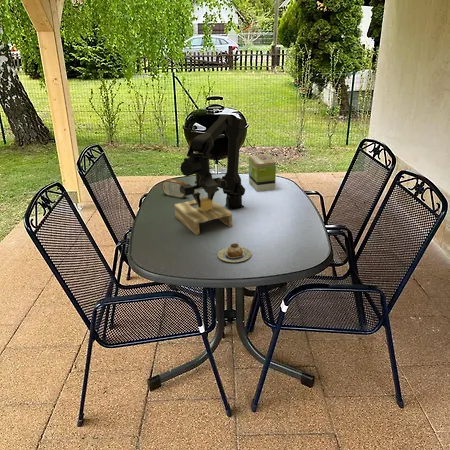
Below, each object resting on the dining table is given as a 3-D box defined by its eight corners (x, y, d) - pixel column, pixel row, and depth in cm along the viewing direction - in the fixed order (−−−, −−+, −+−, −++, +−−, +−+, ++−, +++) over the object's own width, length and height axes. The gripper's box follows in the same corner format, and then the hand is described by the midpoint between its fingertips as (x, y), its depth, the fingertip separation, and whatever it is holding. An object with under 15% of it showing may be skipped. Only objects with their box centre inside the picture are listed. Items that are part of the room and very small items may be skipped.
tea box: (248, 183, 229) (248, 156, 223) (266, 181, 231) (266, 154, 225) (257, 192, 216) (256, 163, 210) (276, 190, 218) (276, 161, 212)
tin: (189, 198, 211) (188, 181, 208) (185, 200, 209) (184, 183, 206) (165, 193, 219) (164, 177, 216) (161, 195, 217) (160, 179, 213)
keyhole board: (208, 209, 196) (207, 197, 194) (232, 226, 178) (231, 212, 176) (175, 217, 189) (174, 204, 187) (196, 235, 171) (195, 221, 169)
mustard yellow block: (207, 213, 183) (206, 196, 180) (212, 216, 179) (211, 200, 176) (198, 215, 181) (197, 198, 178) (202, 219, 178) (201, 202, 175)
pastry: (255, 262, 150) (255, 250, 148) (221, 266, 148) (220, 254, 146) (246, 247, 161) (246, 236, 159) (214, 251, 159) (214, 240, 157)
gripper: (189, 178, 162) (192, 217, 168) (232, 170, 170) (233, 207, 176) (177, 171, 171) (180, 208, 177) (219, 164, 179) (221, 199, 185)
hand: (204, 206), depth 179 cm, fingers closed on mustard yellow block, 4 cm apart
